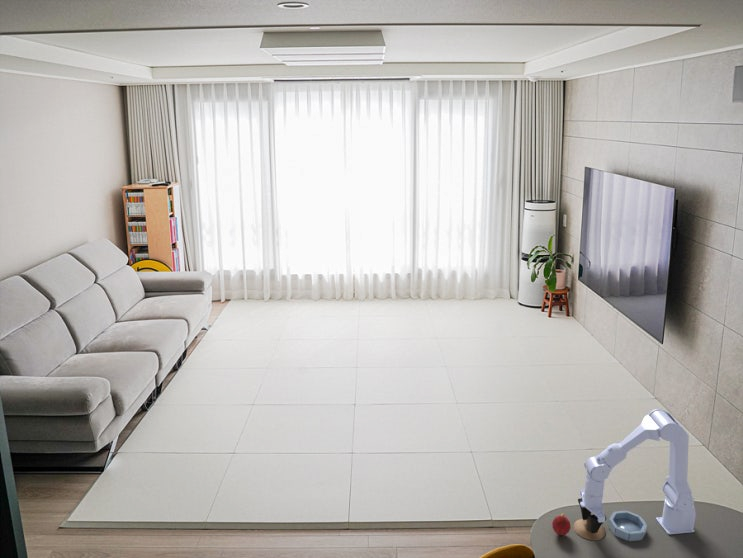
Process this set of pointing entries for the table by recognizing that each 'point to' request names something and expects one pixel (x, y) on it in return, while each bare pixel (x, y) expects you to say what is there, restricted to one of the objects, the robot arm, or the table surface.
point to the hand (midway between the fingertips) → (589, 525)
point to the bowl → (627, 525)
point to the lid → (588, 530)
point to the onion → (561, 525)
